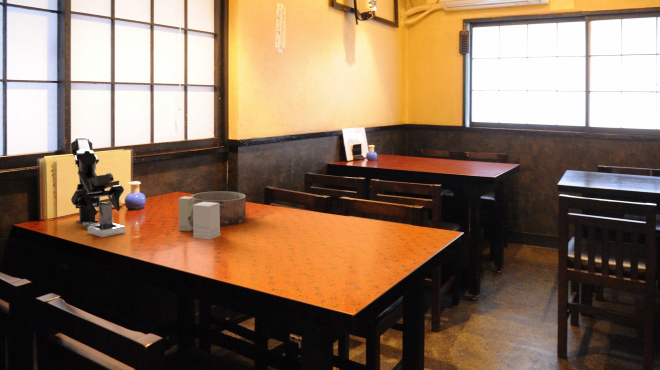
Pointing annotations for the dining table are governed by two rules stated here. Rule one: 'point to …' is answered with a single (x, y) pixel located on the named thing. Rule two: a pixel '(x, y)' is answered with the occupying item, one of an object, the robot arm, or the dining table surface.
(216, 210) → the supplement box
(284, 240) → the dining table surface
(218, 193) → the cooking pot
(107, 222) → the dark grey metal cylinder
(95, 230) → the square frame with handle
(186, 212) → the box
